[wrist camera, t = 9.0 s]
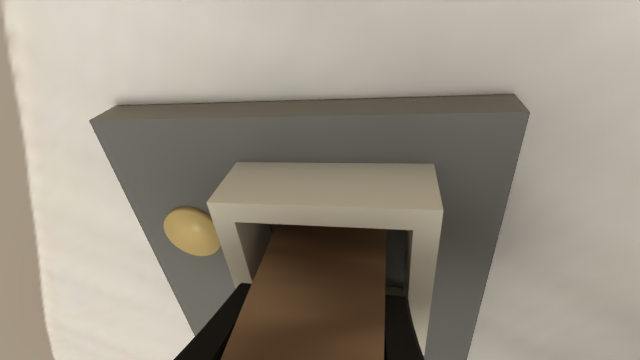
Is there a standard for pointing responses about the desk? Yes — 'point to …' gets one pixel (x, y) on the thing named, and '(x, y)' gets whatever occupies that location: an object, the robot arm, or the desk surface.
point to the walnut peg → (315, 297)
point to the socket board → (324, 192)
